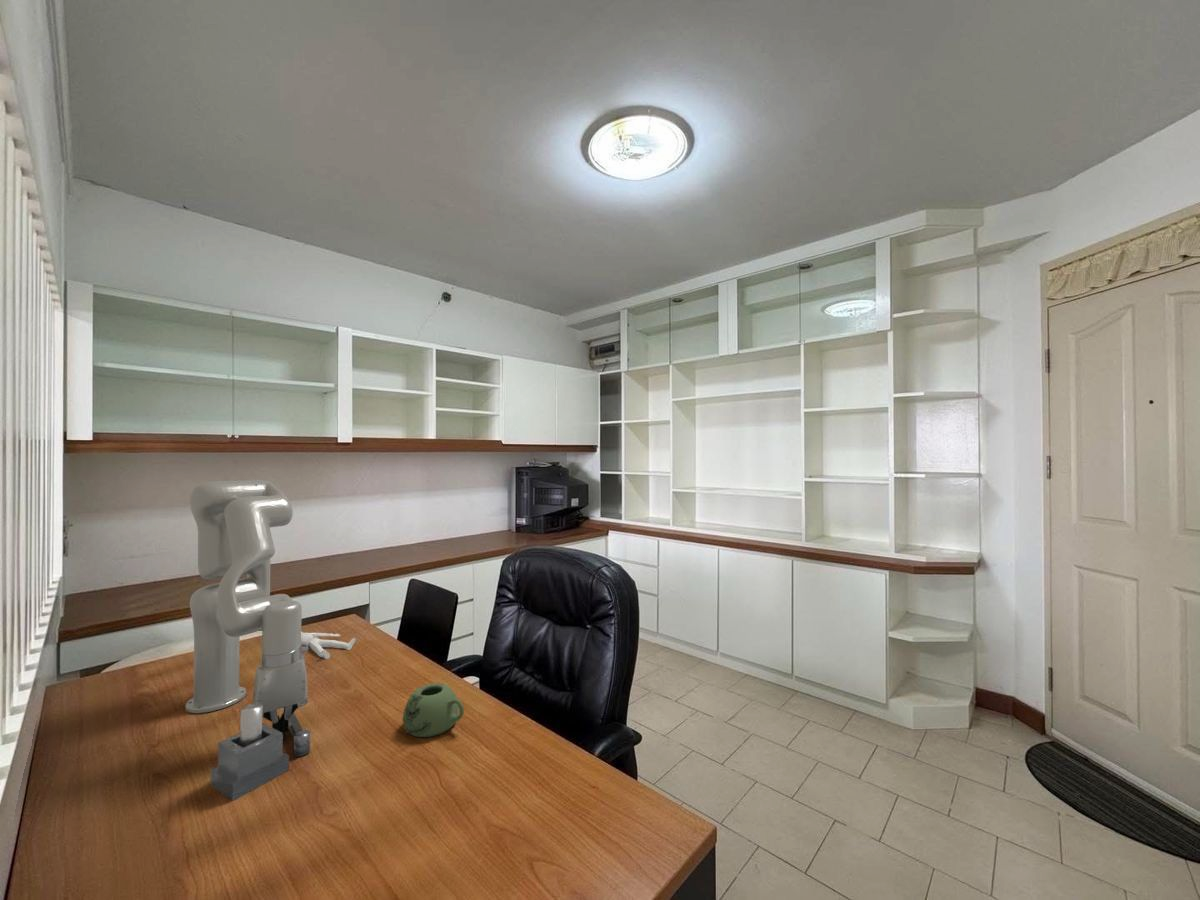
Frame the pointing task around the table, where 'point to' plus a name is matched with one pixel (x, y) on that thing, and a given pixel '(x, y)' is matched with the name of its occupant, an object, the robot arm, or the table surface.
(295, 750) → the lever
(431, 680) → the table surface
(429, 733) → the mug
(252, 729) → the rod
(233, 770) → the block
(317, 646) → the figurine
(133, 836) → the table surface
